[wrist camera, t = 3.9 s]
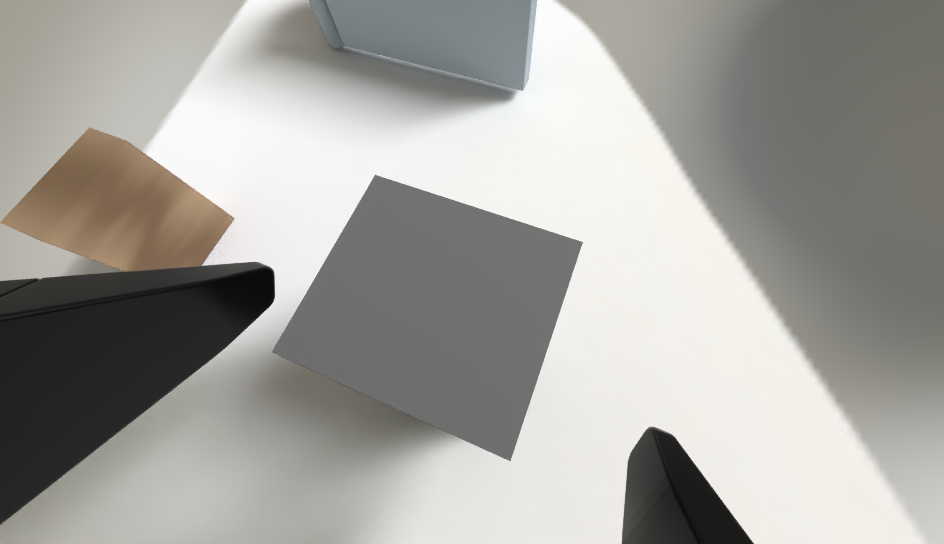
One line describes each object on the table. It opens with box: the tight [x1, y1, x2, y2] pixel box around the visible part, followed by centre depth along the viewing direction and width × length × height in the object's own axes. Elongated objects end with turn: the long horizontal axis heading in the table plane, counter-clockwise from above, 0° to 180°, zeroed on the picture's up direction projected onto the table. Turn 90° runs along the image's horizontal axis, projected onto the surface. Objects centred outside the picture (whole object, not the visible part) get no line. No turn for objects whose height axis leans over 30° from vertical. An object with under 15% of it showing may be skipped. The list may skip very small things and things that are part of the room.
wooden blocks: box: [0, 128, 234, 272], centre depth 19 cm, size 23×2×6 cm, turn 158°
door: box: [309, 0, 537, 91], centre depth 20 cm, size 14×3×6 cm, turn 68°
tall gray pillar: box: [272, 175, 583, 461], centre depth 11 cm, size 4×4×10 cm
